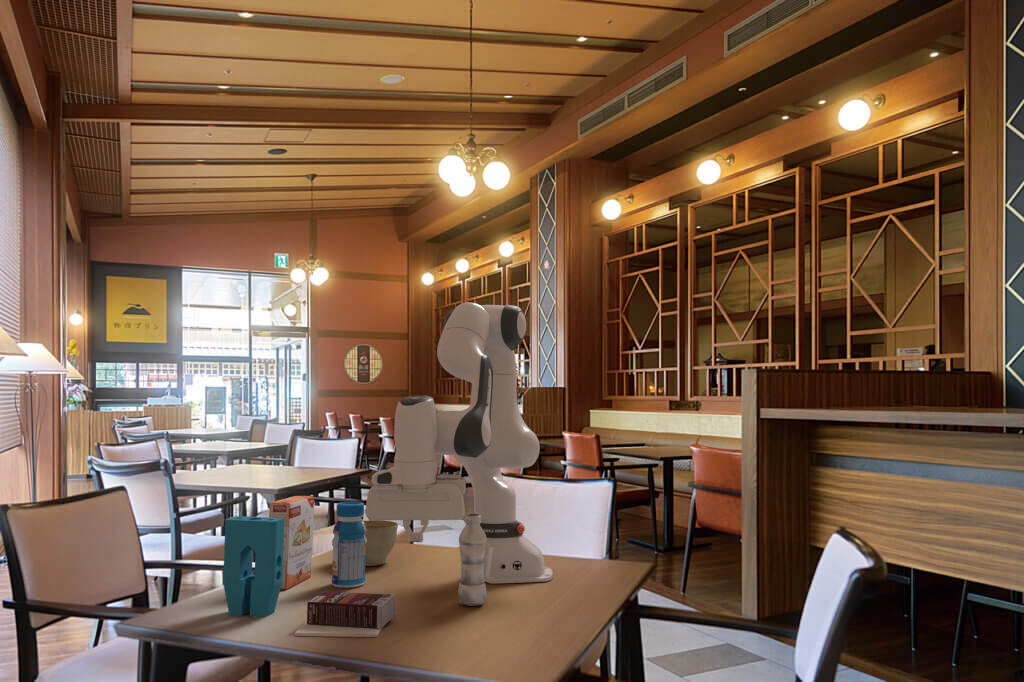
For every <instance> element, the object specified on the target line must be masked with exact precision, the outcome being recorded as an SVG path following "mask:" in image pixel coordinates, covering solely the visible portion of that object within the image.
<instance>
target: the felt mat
mask: <svg viewBox="0 0 1024 682" xmlns="http://www.w3.org/2000/svg"><path fill="white" fill-rule="evenodd" d="M383 628H384V626H383V627H382V628H381V629H377V628H362V627H346V626H327V625H309V624H307V620H306V621H305V622H304V623H303V624H302V625H301V626H300V627H299V628H298V630H296V632H295V633H294V635H295V637H342V638H343V637H344V638H345V637H347V638H348V637H350V638H351V637H353V638H354V637H355V638H357V637H359V638H360V637H361V638H362V637H363V638H364V637H365V638H377V637H378V636H379V634H380V633H381V631H382V629H383Z"/></svg>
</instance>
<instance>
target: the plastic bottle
mask: <svg viewBox="0 0 1024 682" xmlns="http://www.w3.org/2000/svg"><path fill="white" fill-rule="evenodd" d="M480 523H481V515H480V514H474V513H466V514H464V524H465V526H464V527H463V528H462V530H461V532H459V533H460V534H459V536H458V543H459V544H458V546H459V553H460V578H459V584H458V588H457V589H458V591H457V594H458V597H457V598H458V601H459V602H460V603H461V604H462V605H464V606H469V607H473V606H481V605H483V604H484V603H485V601H486V599H487V593H488V592H487V585H486V583H485V576H484V557H485V548H486V540H487V538H486V534H485V532H484V531H483V529H482V528H481V526H480Z"/></svg>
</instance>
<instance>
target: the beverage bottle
mask: <svg viewBox="0 0 1024 682" xmlns="http://www.w3.org/2000/svg"><path fill="white" fill-rule="evenodd" d="M364 504H365V503H364V502H361V501H343V502H338V503H337V504H336V510H335V511H336V512H335V513H336V517H337V518H338V519H337V521H336V523H335V525H334V526H333V529H332V533H333V538H332V541H331V542H332V543H331V545H332V575H331V577H332V578H331V585H332V586H333V587H335V588H340V589H353V588H358V587H362V586H363V585H364V584H365V583H366V566H365V553H366V544H367V539H366V537H365V533H366V526H365V524H364V522H363V521H364V520H363V519H362V518H363V517H364V515H365V514H364V513H365V505H364Z"/></svg>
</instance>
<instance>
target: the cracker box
mask: <svg viewBox="0 0 1024 682" xmlns="http://www.w3.org/2000/svg"><path fill="white" fill-rule="evenodd" d="M268 511H269V512H268V513H269V515H268V517H272V518H284V551H283V582H282V585H281V589H280V591H281V590H282V591H283V590H285V591H286V590H288V589H290V588H292V587H294V586H297V584H300V583H302V582H304V581H306V580H308V579H310V578H311V577H312V562H313V561H312V560H313V543H314V541H313V538H314V517H315V516H314V515H315V496H312V495H293V496H289V497H287V498H282V499H279V500H275V501H270V502H269V510H268Z"/></svg>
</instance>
